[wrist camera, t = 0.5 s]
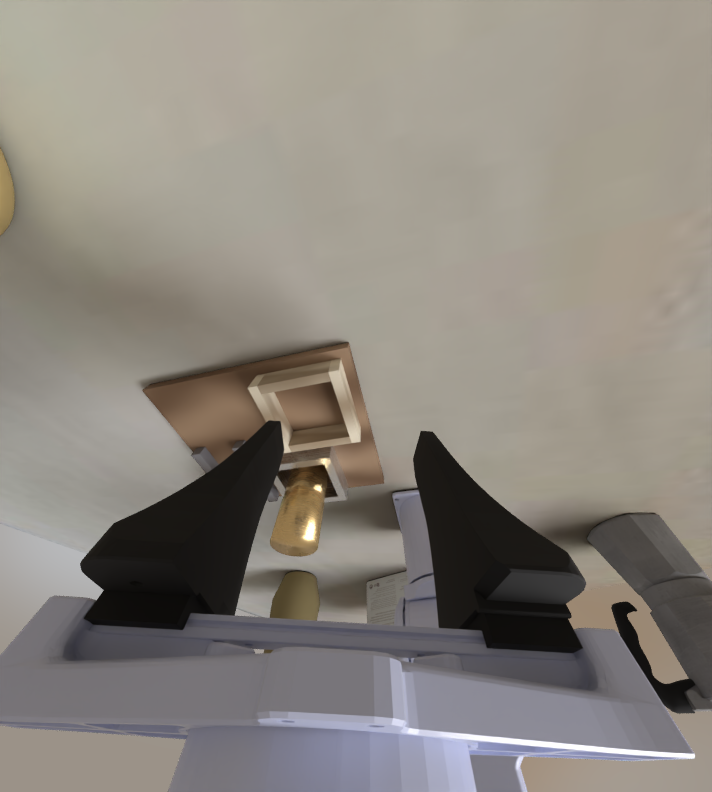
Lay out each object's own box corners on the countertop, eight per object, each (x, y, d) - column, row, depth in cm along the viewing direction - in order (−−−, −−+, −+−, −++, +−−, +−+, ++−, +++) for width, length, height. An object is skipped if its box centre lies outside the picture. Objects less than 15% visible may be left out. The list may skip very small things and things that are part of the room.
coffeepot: (691, 500, 30) (1005, 761, 16) (676, 537, 35) (907, 766, 20) (551, 527, 35) (694, 754, 20) (554, 556, 39) (672, 759, 24)
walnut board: (383, 476, 29) (384, 490, 28) (237, 494, 32) (231, 509, 31) (348, 342, 20) (347, 352, 19) (150, 384, 23) (133, 396, 22)
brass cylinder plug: (333, 478, 28) (323, 554, 22) (300, 482, 29) (281, 558, 22) (322, 453, 26) (308, 530, 20) (287, 459, 27) (261, 534, 20)
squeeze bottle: (321, 587, 48) (302, 748, 33) (279, 583, 48) (240, 745, 33) (324, 569, 44) (303, 746, 29) (278, 565, 43) (232, 742, 28)
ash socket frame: (360, 427, 24) (360, 441, 22) (288, 438, 25) (283, 453, 23) (340, 358, 20) (338, 370, 18) (256, 375, 21) (247, 387, 20)
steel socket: (348, 484, 29) (347, 499, 27) (293, 491, 30) (289, 506, 28) (331, 442, 25) (329, 457, 24) (269, 451, 26) (263, 467, 25)
